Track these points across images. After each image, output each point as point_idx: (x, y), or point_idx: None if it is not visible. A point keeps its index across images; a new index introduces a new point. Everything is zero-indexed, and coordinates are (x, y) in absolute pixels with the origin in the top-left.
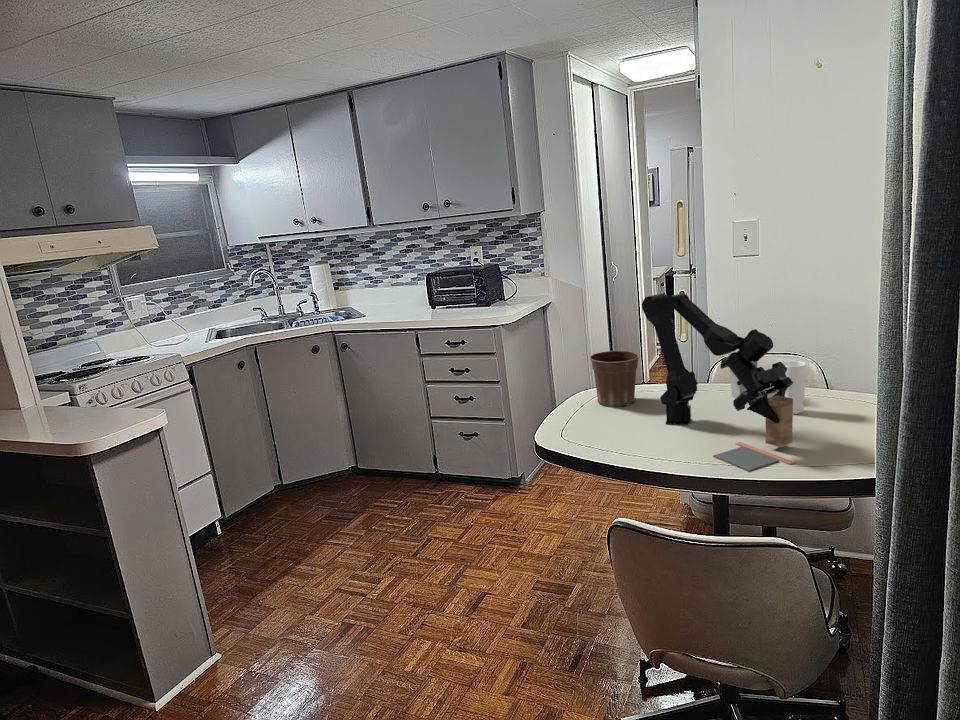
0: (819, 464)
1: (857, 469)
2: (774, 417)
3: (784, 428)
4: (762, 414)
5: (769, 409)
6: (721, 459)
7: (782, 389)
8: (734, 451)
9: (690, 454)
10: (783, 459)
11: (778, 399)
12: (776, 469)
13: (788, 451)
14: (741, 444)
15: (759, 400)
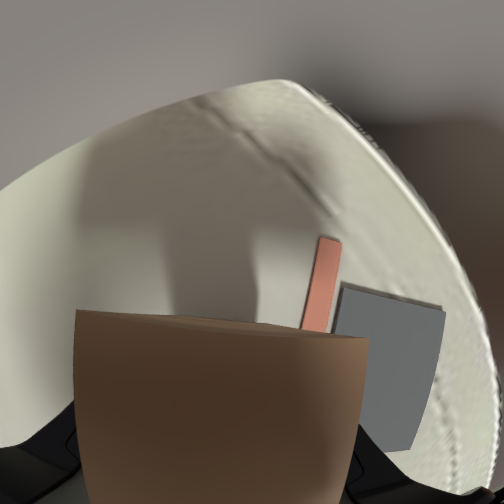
0: (277, 176)
1: (247, 98)
2: None
3: (255, 324)
4: None
5: (364, 433)
6: (420, 417)
7: (2, 497)
8: None
9: None
10: (324, 280)
11: (243, 467)
12: (393, 261)
13: (227, 312)
14: None
15: (476, 488)
